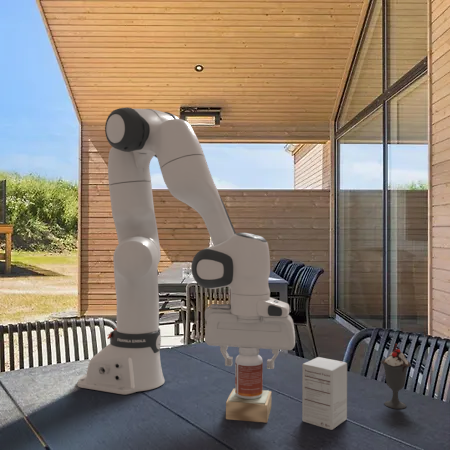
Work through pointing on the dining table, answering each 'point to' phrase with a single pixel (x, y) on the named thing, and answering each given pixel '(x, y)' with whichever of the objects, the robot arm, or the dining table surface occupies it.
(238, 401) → the plinth
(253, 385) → the pill bottle
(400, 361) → the sundae
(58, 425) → the dining table surface
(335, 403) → the supplement box
